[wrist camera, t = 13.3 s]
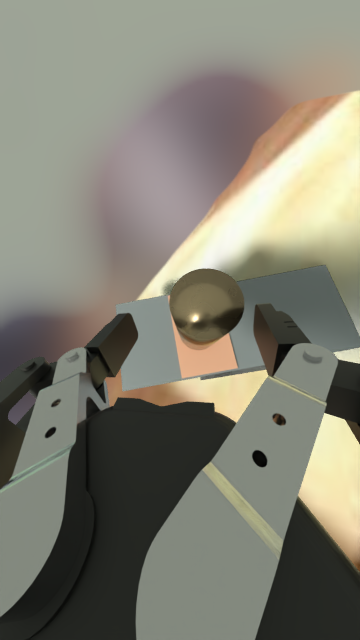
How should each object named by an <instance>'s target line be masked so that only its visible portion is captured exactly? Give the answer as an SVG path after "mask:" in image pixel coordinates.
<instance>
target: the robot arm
mask: <svg viewBox="0 0 360 640" xmlns="http://www.w3.org/2000/svg"><path fill="white" fill-rule="evenodd" d="M253 332H254V337H255V340H256V343H257V345H258V348H259V351H260V353H261V356H262V359H263V362H264V364H265V367H266V370H267V373H268V375H269V376H268V377H267V379H266V380H265V381H264V383H263V384H262V386H261V387H260V389H259V390H258V392H257V393H256V395H255V396H254V398H253V399H252V401H251V402H250V404H249V405H248V407H247V408H246V410H245V411H244V413H243V414H242V416H241V418H240V419H239V421H238V422H237V423H236V422H234V421H233V420H231V419H230V418H228V417H227V416H224V415H222V414H220V413H217V412H215V407H214V403H204V402H183V403H178V404H173V405H168V406H157V405H155V404H152V403H149V402H147V401H144V400H141V399H135V398H118V399H117V401H116V402H115V404H114V406H111V407H110V405H109V398H108V391H107V384H106V382H105V378H106V377H115V376H116V375H117V373H118V371H119V370H120V368H121V366H122V365H123V363H124V361H125V360H126V358H127V356H128V355H129V353H130V351H131V350H132V348H133V346H134V345H135V343H136V341H137V339H138V331H137V328H136V325H135V322H134V320H133V317H132V315H131V314H130V313H121V314H118V315H117V316H116V317H115V318H114V319H113V320H112V321H111V322H110V323H108V324H107V325H106V326H105V327H104V328H103V329H102V330H101V331H100V332H99V333H98V334H97V335H96V336H95V337H94V338H93V339H92V340H91V341H90V342H89V343H88V344H87V345H86V346H85V347H84V348H76V349H73V350H71V351H69V352H67V353H65V354H64V355H63V356H62V357H61V358H60V359H59V360H58V362H54V363H50V364H49V363H48V362H47V361H46V360H45V358H43V357H38V358H34V359H31V360H29V361H27V362H25V363H24V364H22V365H21V366H19V367H18V368H17V369H16V370H14V371H13V372H12V373H11V374H9V375H8V376H7V377H6V378H5V379H3V380H2V381H1V382H0V640H360V572H359V571H358V569H357V568H356V567H355V566H354V564H353V563H352V562H351V561H350V560H349V558H348V557H347V556H346V555H345V553H344V552H343V551H342V550H341V548H340V547H339V546H338V545H337V543H336V542H335V541H334V540H333V539H332V537H331V536H330V535H329V534H328V532H327V531H326V530H325V529H324V527H323V526H322V525H321V524H320V522H319V521H318V520H317V519H316V517H315V516H314V515H313V514H312V513H311V511H310V510H309V509H308V508H307V506H306V505H305V504H304V503H303V501H302V500H301V499H300V498H299V496H298V493H299V490H300V487H301V484H302V481H303V478H304V474H305V471H306V468H307V465H308V462H309V459H310V456H311V452H312V449H313V446H314V443H315V440H316V437H317V434H318V430H319V427H320V424H321V421H322V418H323V415H324V413H327V414H330V415H333V416H336V417H339V418H342V419H345V420H346V422H347V424H348V425H349V427H350V429H351V430H352V432H353V434H354V435H355V437H356V439H357V440H358V442H359V444H360V364H358V363H353V362H347V361H342V360H338V359H337V357H336V356H335V355H334V354H333V353H332V352H331V351H329V350H328V349H326V348H324V347H322V346H319V345H315V344H312V343H311V342H310V341H309V339H308V338H307V337H306V336H305V334H304V333H303V332H302V331H301V329H300V328H299V327H298V326H297V324H296V323H295V322H294V321H293V319H292V318H291V317H290V316H289V315H288V314H286V313H284V312H282V311H276V310H275V309H274V307H273V306H272V304H271V303H264V304H256V305H255V312H254V324H253ZM28 391H29V392H30V393H31V394H32V395H33V396H34V397H35V398H36V399H37V400H36V403H35V404H34V405H33V406H32V407H31V409H30V410H29V411H28V412H27V413H26V414H25V415H24V416H23V417H22V419H21V420H20V421H19V422H18V423H17V424H16V425H14V424H13V423H12V422H10V421H9V420H8V413H9V411H10V409H11V408H12V407H13V406H14V405H15V404H16V403H17V402H18V401H19V400H20V399H21V398H22V397H23V396H24V395H25V394H26V393H27V392H28ZM10 478H11V479H10Z"/></svg>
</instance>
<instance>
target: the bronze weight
mask: <svg viewBox="0 0 360 640" xmlns="http://www.w3.org/2000/svg"><path fill="white" fill-rule="evenodd" d="M169 307H170V312H171V315H172V318H173V320H174V323H175V325H176V328H177V331H178V333H179V336H180V338H181V340H182V342H183V343H184V344H185V345H186V346H187V347H189V348H191V349H193V350H204V349H207V348H209V347H210V346H212V345H213V344H214V343H216V342H217V341H218V340H220V339H221V338H222V337H224V336H225V335H226V334H228V333H229V332H230V331H232V330H233V329H234V328H235V327H236V326H237V325H238V323H239V322H240V320H241V318H242V315H243V312H244V297H243V293H242V291H241V289H240V287H239V285H238V284H237V283H236V282H235V280H234V279H232V278H231V277H230V276H229V275H227V274H225V273H223V272H221V271H218V270H214V269H198V270H194V271H191V272H189V273H187V274H185V275H184V276H183V277H181V278H180V279H179V280H178V281H177V282H176V284H175V285H174V287H173V289H172V291H171V294H170V299H169Z"/></svg>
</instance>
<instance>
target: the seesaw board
mask: <svg viewBox="0 0 360 640" xmlns="http://www.w3.org/2000/svg"><path fill="white" fill-rule="evenodd" d="M236 283H237V284H238V285H239V287H240V289H241V291H242V293H243V297H244V312H243V315H242V318H241V320H240V322H239V323H238V325H237V326H236V327H235V328H234V329H233V330H232V331H230V332H229V333H228V334H226V335H225V336H224V337H222V338H221V339H220V340H218V341H217V342H216V343H214V344H213V345H212V346H210V347H209V348H207V349H204V350H193V349H191V348H189V347H187V346H186V345H185V344H184V343H183V342H182V340H181V338H180V336H179V333H178V331H177V328H176V325H175V323H174V320H173V318H172V315H171V312H170V307H169V299H170V295H164V296H159V297H154V298H149V299H143V300H138V301H133V302H128V303H123V304H117V305H116V314H117V315H118V314H121V313H130V314H131V315H132V317H133V320H134V322H135V325H136V328H137V331H138V339H137V341H136V343H135V345H134V346H133V348H132V350H131V351H130V353H129V355H128V356H127V358H126V360H125V361H124V363H123V365H122V366H121V377H122V390H123V391H127V390H132V389H138V388H143V387H148V386H154V385H159V384H165V383H170V382H175V381H181V380H186V379H192V378H197V377H202V376H208V375H213V374H219V373H224V372H229V371H235V370H240V369H246V368H251V367H256V366H262V365H265V364H264V362H263V359H262V356H261V353H260V351H259V348H258V345H257V343H256V340H255V337H254V332H253V324H254V312H255V305H256V304H264V303H271V304H272V306H273V307H274V309H275V310H276V311H282V312H284V313H286V314H288V315H289V316H290V317H291V318H292V319H293V321H294V322H295V323H296V324H297V326H298V327H299V328H300V329H301V331H302V332H303V333H304V334H305V336H306V337H307V338H308V339H309V341H310V342H311V343H312V344H315V345H319V346H322V347H324V348H326V349H328V350H329V351H331V352H337V351H343V350H348V349H354V348H359V347H360V336H359V334H358V332H357V330H356V328H355V326H354V324H353V322H352V319H351V317H350V315H349V313H348V311H347V309H346V307H345V305H344V303H343V301H342V299H341V296H340V294H339V292H338V290H337V288H336V286H335V284H334V282H333V280H332V278H331V276H330V273H329V271H328V269H327V267H326V265H321V266H316V267H311V268H306V269H300V270H295V271H290V272H285V273H280V274H274V275H269V276H264V277H259V278H253V279H248V280H243V281H238V282H236Z"/></svg>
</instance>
